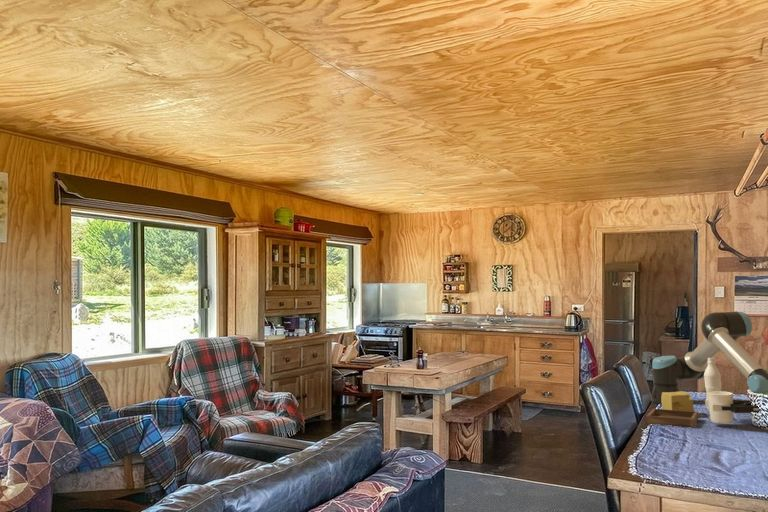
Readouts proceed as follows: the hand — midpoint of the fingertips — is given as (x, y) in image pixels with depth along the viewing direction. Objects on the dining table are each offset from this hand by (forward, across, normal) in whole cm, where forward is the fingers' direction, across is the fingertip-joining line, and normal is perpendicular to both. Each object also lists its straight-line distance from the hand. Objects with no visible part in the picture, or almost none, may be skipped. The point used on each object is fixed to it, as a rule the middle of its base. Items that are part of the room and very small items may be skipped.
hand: (709, 405), depth 251 cm
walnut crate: (+13, +6, -9) cm, 17 cm away
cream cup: (-5, 0, -7) cm, 8 cm away
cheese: (+7, +23, -9) cm, 26 cm away
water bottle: (-11, +34, -9) cm, 37 cm away
